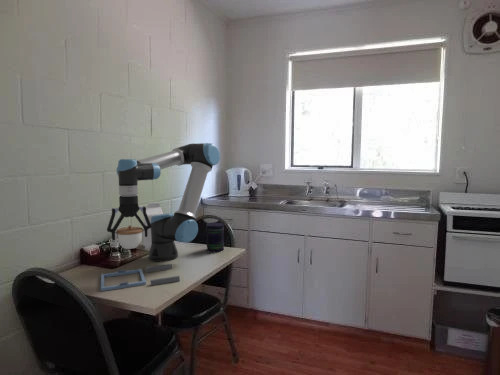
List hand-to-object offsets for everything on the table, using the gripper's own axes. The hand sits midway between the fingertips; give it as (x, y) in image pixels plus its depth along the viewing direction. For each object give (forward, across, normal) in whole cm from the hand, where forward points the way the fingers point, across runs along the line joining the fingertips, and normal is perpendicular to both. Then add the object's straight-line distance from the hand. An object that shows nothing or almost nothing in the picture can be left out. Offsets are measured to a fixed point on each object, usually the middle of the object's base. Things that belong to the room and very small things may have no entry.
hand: (130, 245), depth 147 cm
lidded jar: (+1, 0, 0) cm, 1 cm away
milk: (+15, +19, +52) cm, 57 cm away
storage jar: (+15, +48, +27) cm, 57 cm away
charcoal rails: (+15, +13, -1) cm, 20 cm away
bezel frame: (+15, -3, +1) cm, 16 cm away
